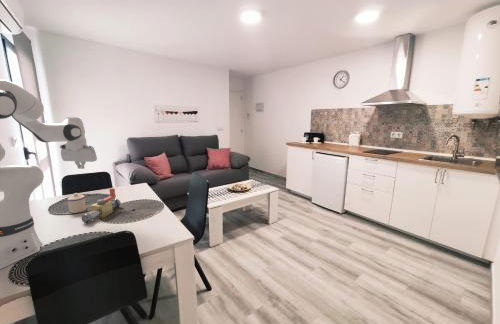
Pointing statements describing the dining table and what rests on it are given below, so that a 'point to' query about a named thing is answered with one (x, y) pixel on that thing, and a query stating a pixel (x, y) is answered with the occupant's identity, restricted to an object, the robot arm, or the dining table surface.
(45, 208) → the dining table surface
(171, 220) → the dining table surface
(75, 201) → the teacup with lid
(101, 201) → the valve lever
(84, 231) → the dining table surface
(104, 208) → the valve pipe
